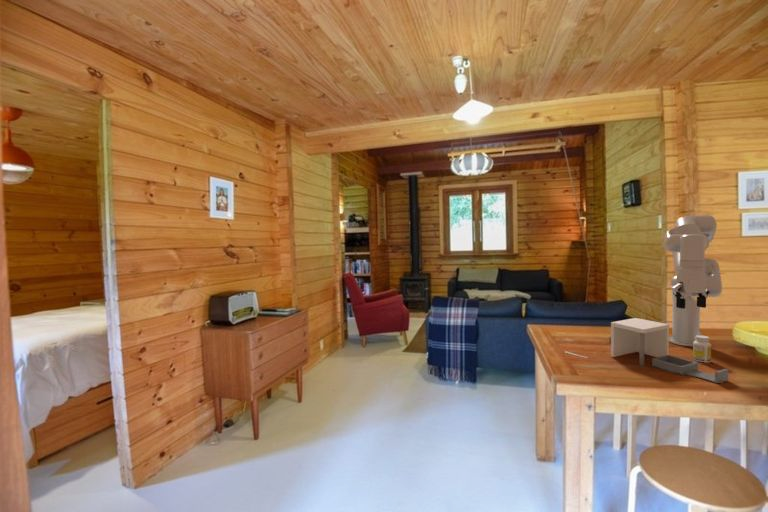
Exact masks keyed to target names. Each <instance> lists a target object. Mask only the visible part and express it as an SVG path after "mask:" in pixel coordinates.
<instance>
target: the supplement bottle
mask: <svg viewBox="0 0 768 512" xmlns="http://www.w3.org/2000/svg"><path fill="white" fill-rule="evenodd" d="M702 335H703V334H702ZM702 335H697V336H696V341H694V342H693V347H692V358H693V361H694V362H698V363H703V362H704V363H706V364H707V363H708V364H710V363H712V344H711V343H710V342H709V341H710V337H709V336H706V335H703V336H702Z"/></svg>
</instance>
